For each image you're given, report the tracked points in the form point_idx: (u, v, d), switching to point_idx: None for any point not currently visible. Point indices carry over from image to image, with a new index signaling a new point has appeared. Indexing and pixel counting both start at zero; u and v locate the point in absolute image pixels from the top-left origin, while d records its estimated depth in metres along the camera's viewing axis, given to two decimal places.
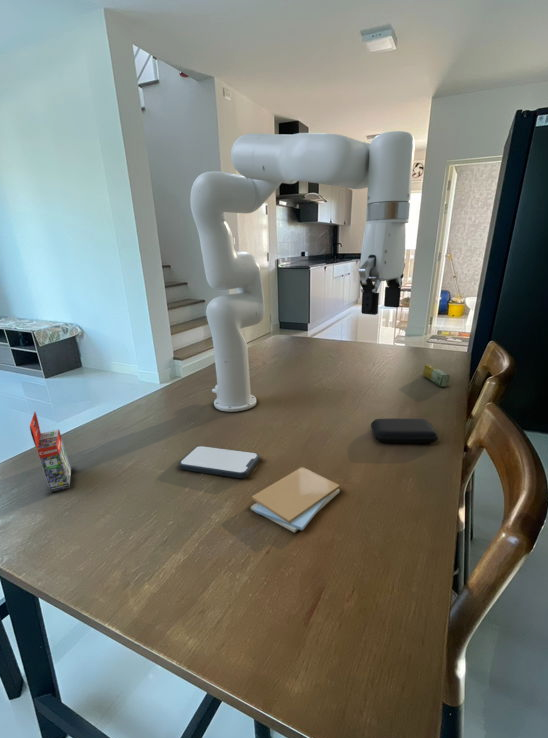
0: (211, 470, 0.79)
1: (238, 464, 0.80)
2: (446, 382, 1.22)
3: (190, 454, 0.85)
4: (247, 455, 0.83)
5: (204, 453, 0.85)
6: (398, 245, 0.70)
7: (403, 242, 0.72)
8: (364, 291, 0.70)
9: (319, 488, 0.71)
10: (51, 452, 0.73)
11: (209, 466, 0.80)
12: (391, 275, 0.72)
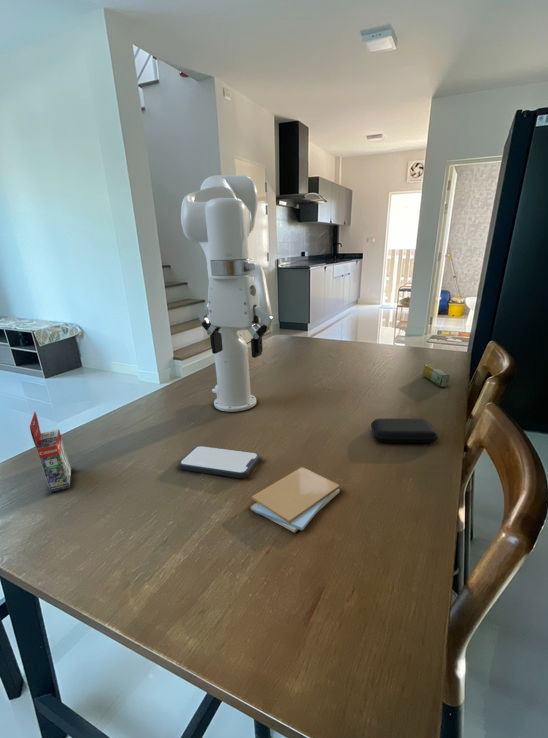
0: (211, 470, 0.79)
1: (238, 464, 0.80)
2: (446, 382, 1.22)
3: (190, 454, 0.85)
4: (247, 455, 0.83)
5: (204, 453, 0.85)
6: (226, 298, 0.75)
7: (238, 296, 0.74)
8: None
9: (319, 488, 0.71)
10: (51, 452, 0.73)
11: (209, 466, 0.80)
12: (224, 324, 0.78)
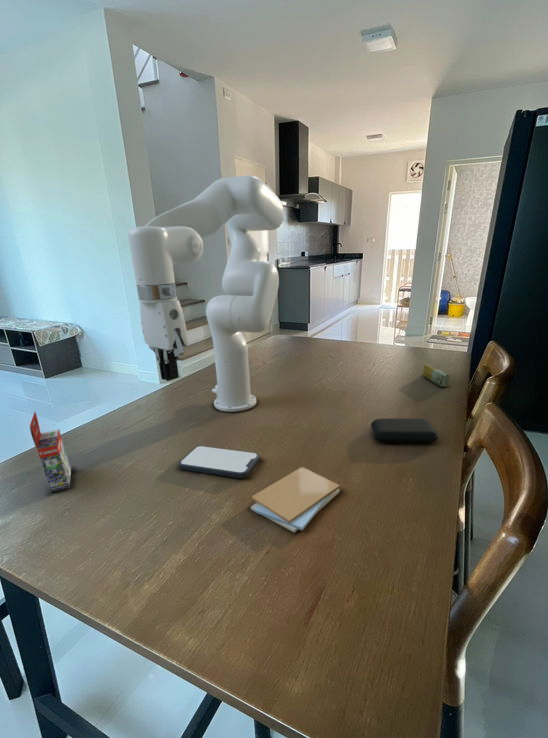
0: (211, 470, 0.79)
1: (238, 464, 0.80)
2: (446, 382, 1.22)
3: (190, 454, 0.85)
4: (247, 455, 0.83)
5: (204, 453, 0.85)
6: (151, 320, 0.78)
7: (158, 319, 0.76)
8: None
9: (319, 488, 0.71)
10: (51, 452, 0.73)
11: (209, 466, 0.80)
12: (153, 344, 0.81)
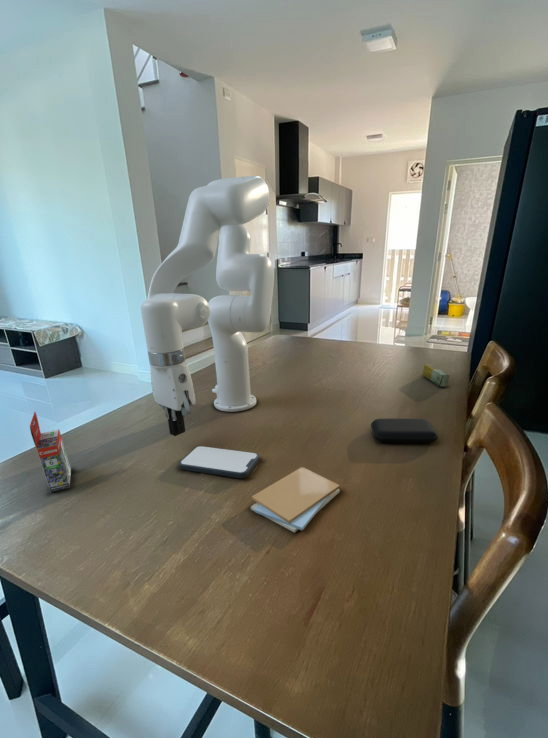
0: (211, 470, 0.79)
1: (238, 464, 0.80)
2: (446, 382, 1.22)
3: (190, 454, 0.85)
4: (247, 455, 0.83)
5: (204, 453, 0.85)
6: (161, 383, 0.83)
7: (168, 383, 0.81)
8: None
9: (319, 488, 0.71)
10: (51, 452, 0.73)
11: (209, 466, 0.80)
12: (162, 403, 0.86)
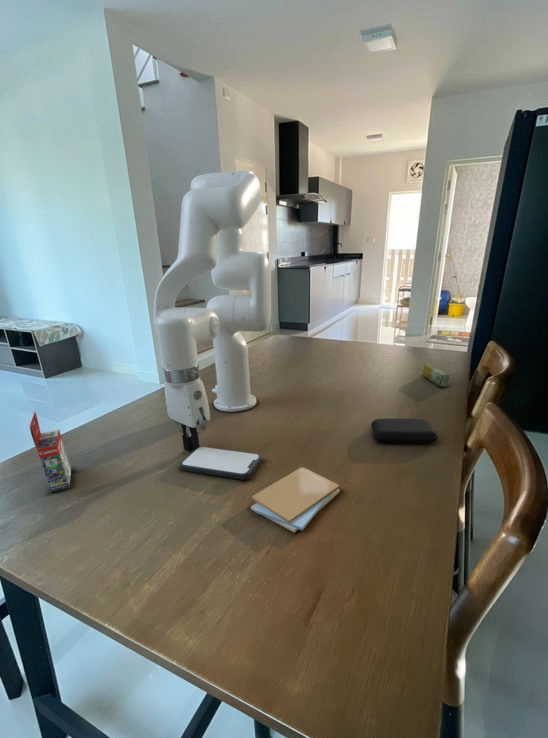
0: (213, 471, 0.78)
1: (240, 466, 0.79)
2: (445, 382, 1.22)
3: (192, 455, 0.84)
4: (248, 456, 0.83)
5: (205, 453, 0.85)
6: (175, 399, 0.81)
7: (183, 400, 0.80)
8: None
9: (319, 488, 0.71)
10: (51, 452, 0.73)
11: (211, 467, 0.79)
12: (177, 419, 0.84)
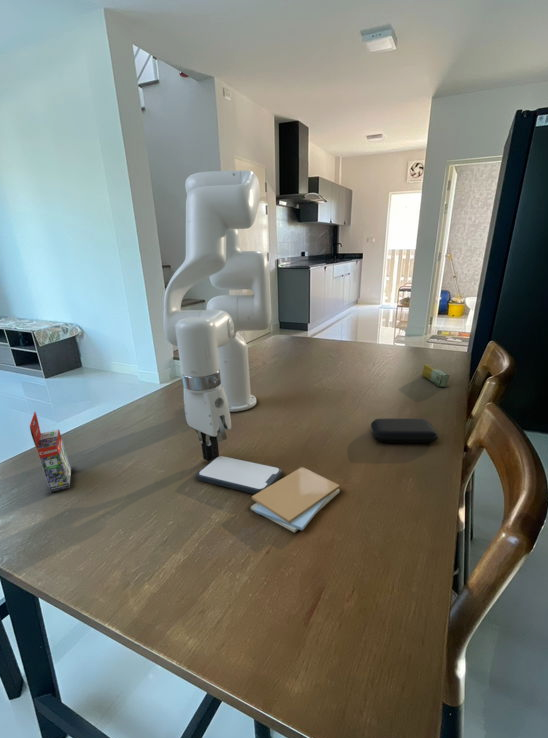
0: (229, 484, 0.74)
1: (258, 480, 0.74)
2: (445, 382, 1.22)
3: (210, 464, 0.81)
4: (268, 470, 0.77)
5: (224, 464, 0.81)
6: (195, 407, 0.77)
7: (203, 408, 0.76)
8: None
9: (319, 488, 0.71)
10: (51, 452, 0.73)
11: (228, 479, 0.75)
12: (196, 427, 0.80)
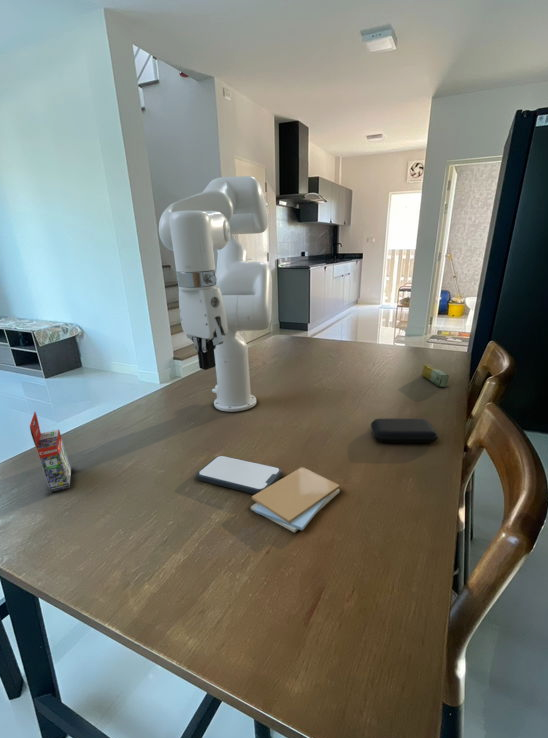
0: (229, 484, 0.74)
1: (258, 480, 0.74)
2: (445, 382, 1.22)
3: (210, 464, 0.81)
4: (268, 470, 0.77)
5: (224, 463, 0.81)
6: (191, 308, 0.76)
7: (199, 307, 0.74)
8: None
9: (319, 488, 0.71)
10: (51, 452, 0.73)
11: (228, 479, 0.75)
12: (192, 333, 0.79)
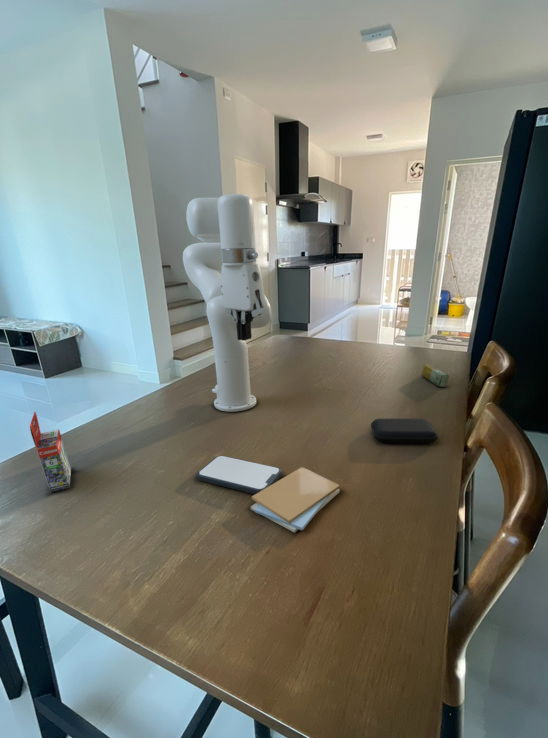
0: (229, 484, 0.74)
1: (258, 480, 0.74)
2: (445, 382, 1.22)
3: (210, 464, 0.81)
4: (268, 470, 0.77)
5: (224, 463, 0.81)
6: (233, 283, 0.85)
7: (241, 281, 0.83)
8: None
9: (319, 488, 0.71)
10: (51, 452, 0.73)
11: (228, 479, 0.75)
12: (232, 306, 0.88)
